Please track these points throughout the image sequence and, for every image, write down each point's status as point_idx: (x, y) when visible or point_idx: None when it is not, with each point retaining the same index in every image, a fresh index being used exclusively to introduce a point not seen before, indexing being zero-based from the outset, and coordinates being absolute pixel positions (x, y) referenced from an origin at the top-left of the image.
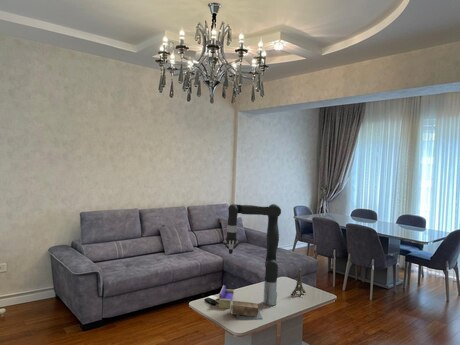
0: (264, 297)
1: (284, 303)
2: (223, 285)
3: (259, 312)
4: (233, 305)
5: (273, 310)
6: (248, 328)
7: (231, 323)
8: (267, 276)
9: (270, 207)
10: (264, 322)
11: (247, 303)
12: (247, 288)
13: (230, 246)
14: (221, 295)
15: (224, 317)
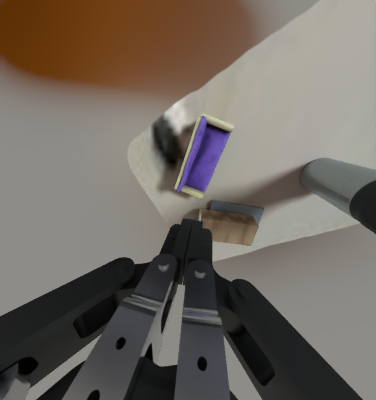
0: (309, 182)
1: None
2: (197, 123)
3: (259, 220)
4: None
5: (299, 212)
6: (214, 259)
7: None
8: (369, 229)
9: None
10: (249, 250)
11: (234, 229)
12: (330, 12)
13: (161, 332)
14: (180, 190)
15: None
